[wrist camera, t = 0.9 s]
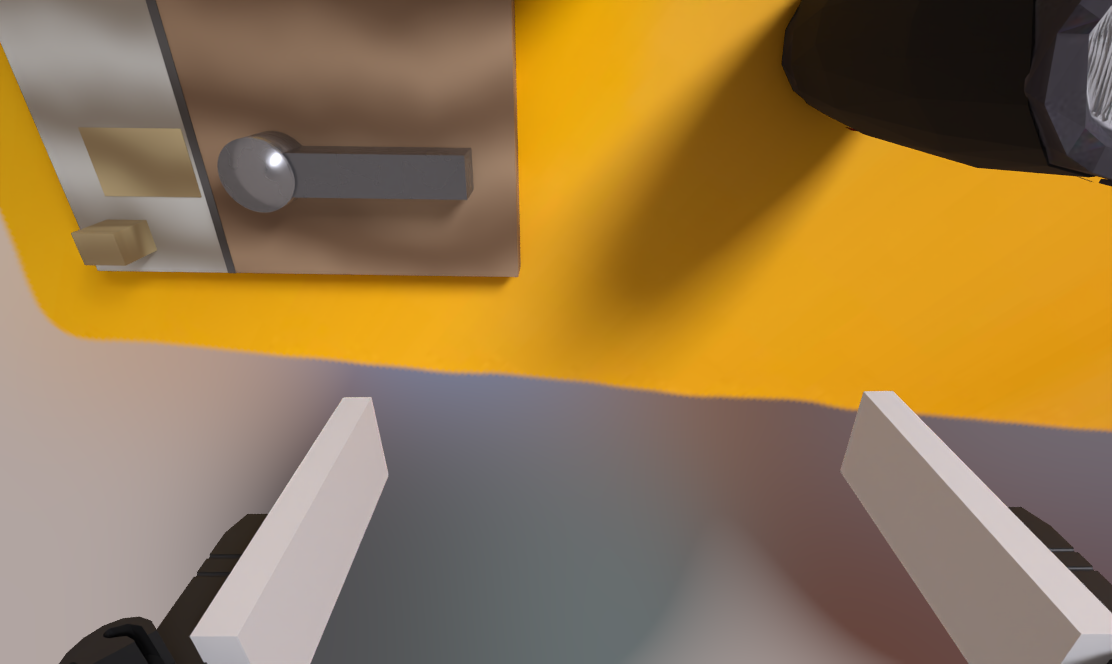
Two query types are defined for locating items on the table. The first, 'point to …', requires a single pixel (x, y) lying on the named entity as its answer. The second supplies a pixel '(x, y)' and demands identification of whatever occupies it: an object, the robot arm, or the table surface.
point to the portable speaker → (964, 78)
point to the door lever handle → (338, 172)
